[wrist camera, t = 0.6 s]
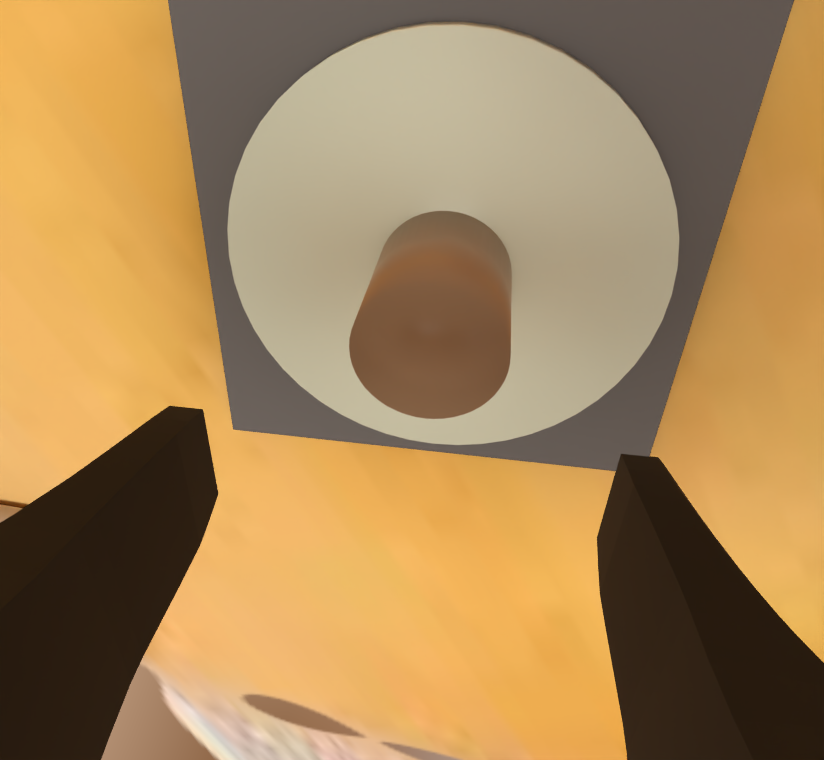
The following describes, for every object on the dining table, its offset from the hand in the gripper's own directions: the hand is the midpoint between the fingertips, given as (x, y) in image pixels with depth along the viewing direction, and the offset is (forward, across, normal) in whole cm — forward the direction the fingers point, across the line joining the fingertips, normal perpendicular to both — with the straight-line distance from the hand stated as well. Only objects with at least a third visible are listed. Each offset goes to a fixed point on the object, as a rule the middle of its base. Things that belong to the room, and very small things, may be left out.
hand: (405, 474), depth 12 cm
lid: (+9, 0, 0) cm, 9 cm away
